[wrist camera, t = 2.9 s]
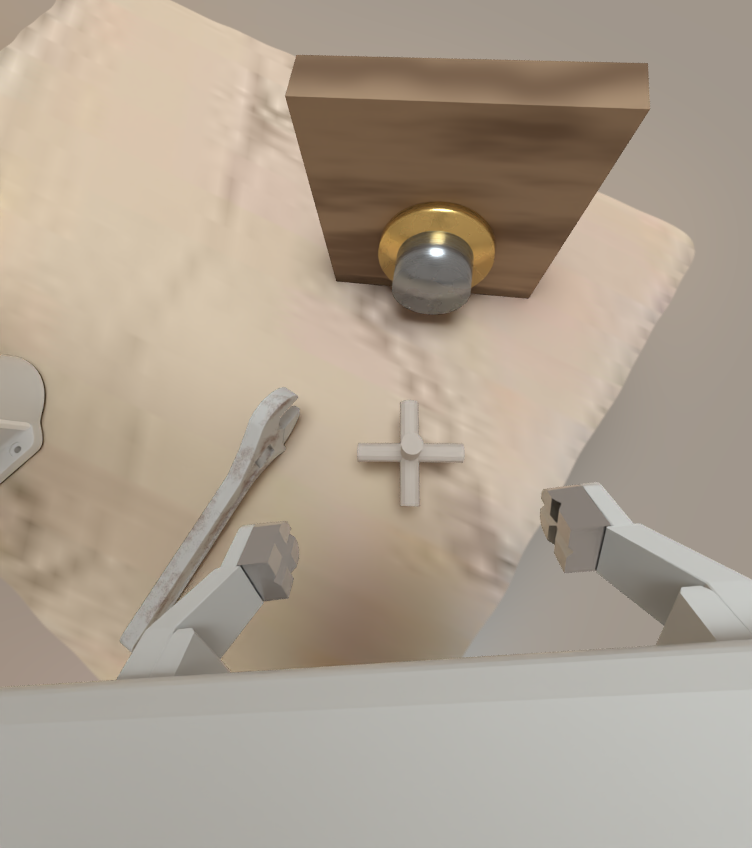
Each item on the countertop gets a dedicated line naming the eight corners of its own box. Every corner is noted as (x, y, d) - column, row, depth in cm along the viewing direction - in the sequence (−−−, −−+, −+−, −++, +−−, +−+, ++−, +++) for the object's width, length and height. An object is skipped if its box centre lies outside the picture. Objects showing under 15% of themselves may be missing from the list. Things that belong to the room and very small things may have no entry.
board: (528, 298, 40) (649, 109, 21) (336, 281, 43) (285, 96, 23) (532, 229, 43) (645, 0, 23) (349, 216, 45) (312, -2, 25)
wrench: (157, 620, 37) (302, 398, 39) (169, 631, 37) (315, 406, 38) (87, 662, 29) (273, 380, 31) (101, 675, 29) (288, 390, 30)
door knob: (476, 328, 39) (509, 255, 28) (376, 318, 40) (367, 243, 29) (479, 291, 40) (512, 205, 29) (382, 282, 42) (376, 197, 30)
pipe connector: (362, 504, 36) (349, 505, 26) (364, 415, 38) (353, 386, 29) (455, 506, 35) (477, 507, 26) (452, 415, 38) (471, 385, 28)
